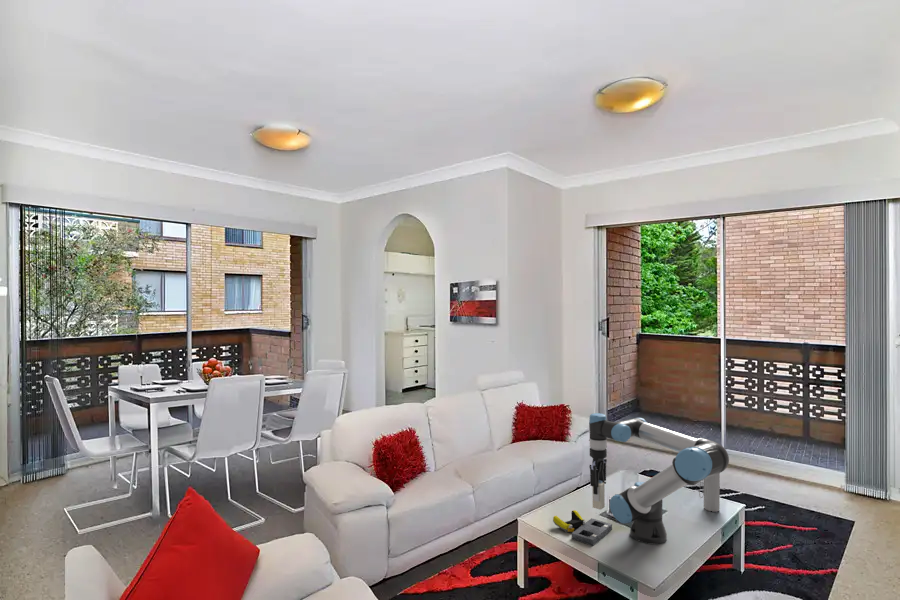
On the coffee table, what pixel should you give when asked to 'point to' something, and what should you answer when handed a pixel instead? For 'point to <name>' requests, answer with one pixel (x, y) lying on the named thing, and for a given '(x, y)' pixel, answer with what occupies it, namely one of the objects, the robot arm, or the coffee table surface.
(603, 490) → the plug
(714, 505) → the water bottle
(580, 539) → the panel
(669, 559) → the coffee table surface
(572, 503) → the coffee table surface
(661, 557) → the coffee table surface
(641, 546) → the coffee table surface
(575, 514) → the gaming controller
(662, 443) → the robot arm
